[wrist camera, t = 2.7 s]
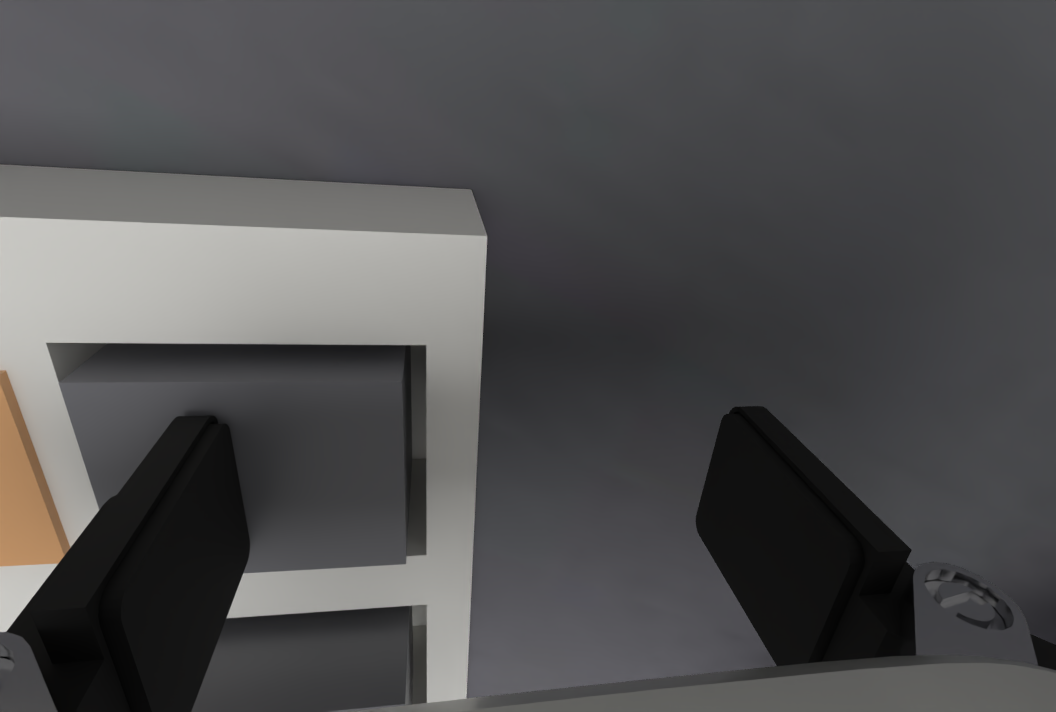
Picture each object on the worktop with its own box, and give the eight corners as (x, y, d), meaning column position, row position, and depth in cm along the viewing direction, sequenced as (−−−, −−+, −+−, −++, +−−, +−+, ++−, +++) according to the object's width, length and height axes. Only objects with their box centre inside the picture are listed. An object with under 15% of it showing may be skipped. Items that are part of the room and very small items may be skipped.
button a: (410, 306, 13) (401, 381, 10) (412, 457, 15) (406, 564, 11) (159, 301, 12) (58, 382, 9) (194, 463, 14) (121, 580, 10)
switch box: (471, 189, 13) (488, 239, 9) (453, 747, 23) (458, 897, 19) (-127, 157, 11) (-455, 202, 7) (126, 783, 21) (48, 961, 17)
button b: (411, 564, 14) (404, 704, 11) (413, 673, 16) (408, 819, 13) (189, 577, 13) (113, 732, 10) (217, 690, 15) (160, 852, 12)
